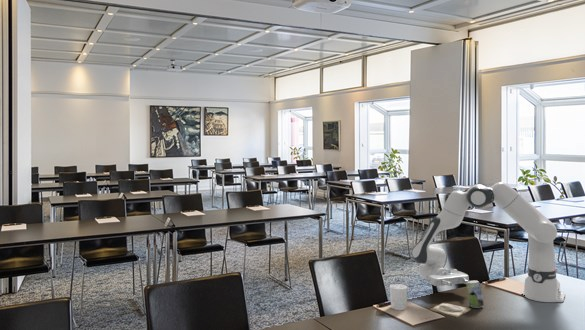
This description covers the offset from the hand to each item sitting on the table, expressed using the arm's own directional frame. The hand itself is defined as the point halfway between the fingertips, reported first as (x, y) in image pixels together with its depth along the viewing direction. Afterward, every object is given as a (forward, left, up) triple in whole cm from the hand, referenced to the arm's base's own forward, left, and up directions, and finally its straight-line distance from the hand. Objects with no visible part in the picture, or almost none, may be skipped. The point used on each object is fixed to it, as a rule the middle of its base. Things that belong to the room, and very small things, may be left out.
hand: (458, 283), depth 232 cm
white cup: (+31, -14, -8) cm, 35 cm away
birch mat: (+17, +4, -8) cm, 20 cm away
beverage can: (+5, +10, -8) cm, 14 cm away
